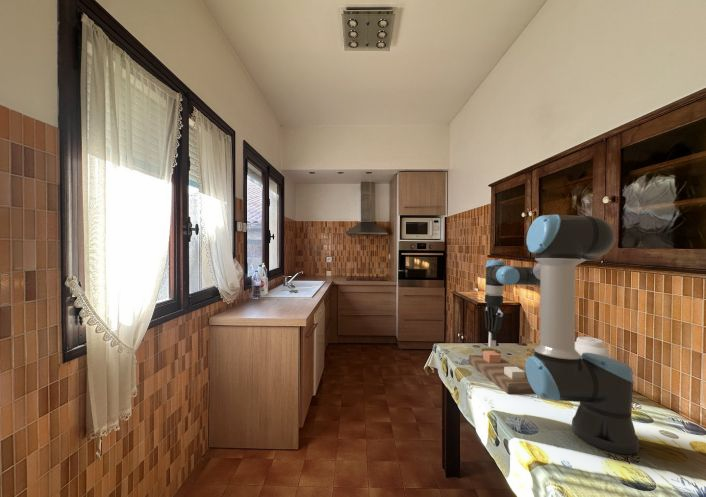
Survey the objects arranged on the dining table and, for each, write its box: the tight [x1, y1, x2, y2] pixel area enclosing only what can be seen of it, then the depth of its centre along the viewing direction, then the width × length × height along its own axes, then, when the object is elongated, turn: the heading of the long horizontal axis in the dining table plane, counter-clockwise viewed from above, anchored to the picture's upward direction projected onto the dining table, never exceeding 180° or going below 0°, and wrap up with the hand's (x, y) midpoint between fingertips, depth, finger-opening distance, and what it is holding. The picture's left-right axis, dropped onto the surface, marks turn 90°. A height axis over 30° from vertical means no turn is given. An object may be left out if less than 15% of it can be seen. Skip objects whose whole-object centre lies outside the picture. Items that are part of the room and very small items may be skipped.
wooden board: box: [468, 354, 537, 395], centre depth 131 cm, size 30×14×4 cm, turn 7°
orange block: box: [482, 350, 502, 363], centre depth 139 cm, size 5×5×4 cm
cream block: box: [504, 366, 526, 379], centre depth 123 cm, size 5×5×4 cm
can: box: [575, 335, 611, 359], centre depth 122 cm, size 12×12×20 cm
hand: (492, 346), depth 139 cm, fingers closed
